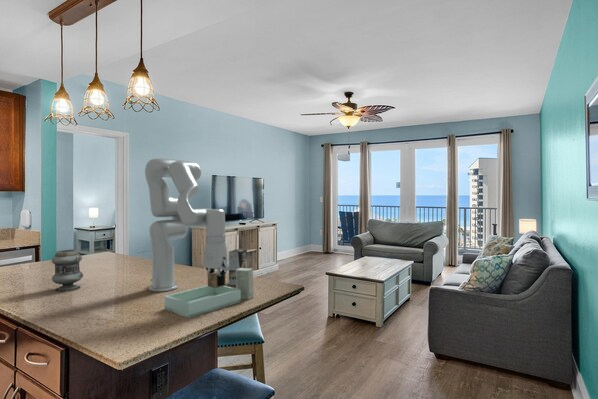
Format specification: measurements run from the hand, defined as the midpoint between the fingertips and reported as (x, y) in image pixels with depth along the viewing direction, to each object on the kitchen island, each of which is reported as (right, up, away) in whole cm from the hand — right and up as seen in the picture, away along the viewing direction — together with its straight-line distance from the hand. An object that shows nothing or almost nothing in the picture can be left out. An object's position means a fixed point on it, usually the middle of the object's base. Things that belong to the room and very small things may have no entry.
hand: (216, 284), depth 143 cm
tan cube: (0, -1, 0) cm, 1 cm away
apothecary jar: (-74, -8, +21) cm, 77 cm away
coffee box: (+4, -7, +31) cm, 32 cm away
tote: (-4, -7, -4) cm, 9 cm away
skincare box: (+11, -7, +6) cm, 14 cm away
